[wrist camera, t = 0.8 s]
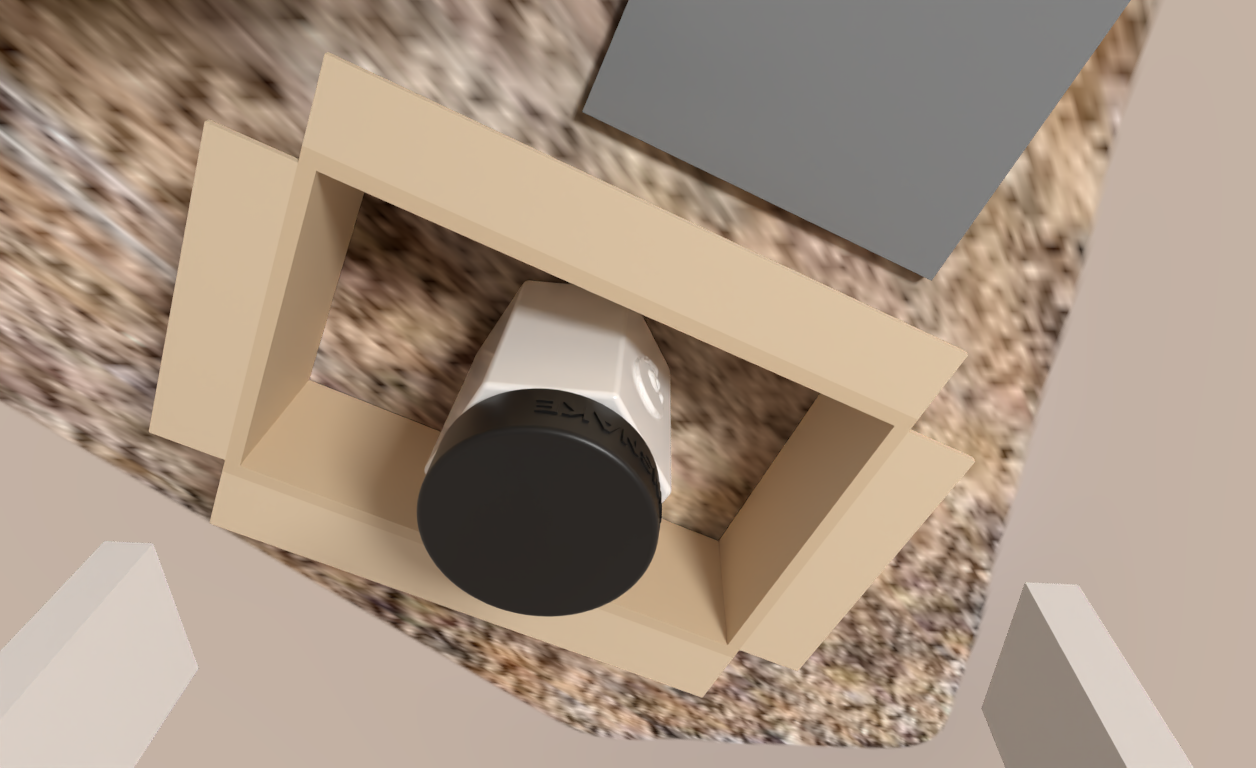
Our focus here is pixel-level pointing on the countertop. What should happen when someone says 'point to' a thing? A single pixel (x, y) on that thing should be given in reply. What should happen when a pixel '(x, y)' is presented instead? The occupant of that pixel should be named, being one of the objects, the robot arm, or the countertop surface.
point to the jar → (552, 457)
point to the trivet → (851, 102)
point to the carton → (589, 258)
